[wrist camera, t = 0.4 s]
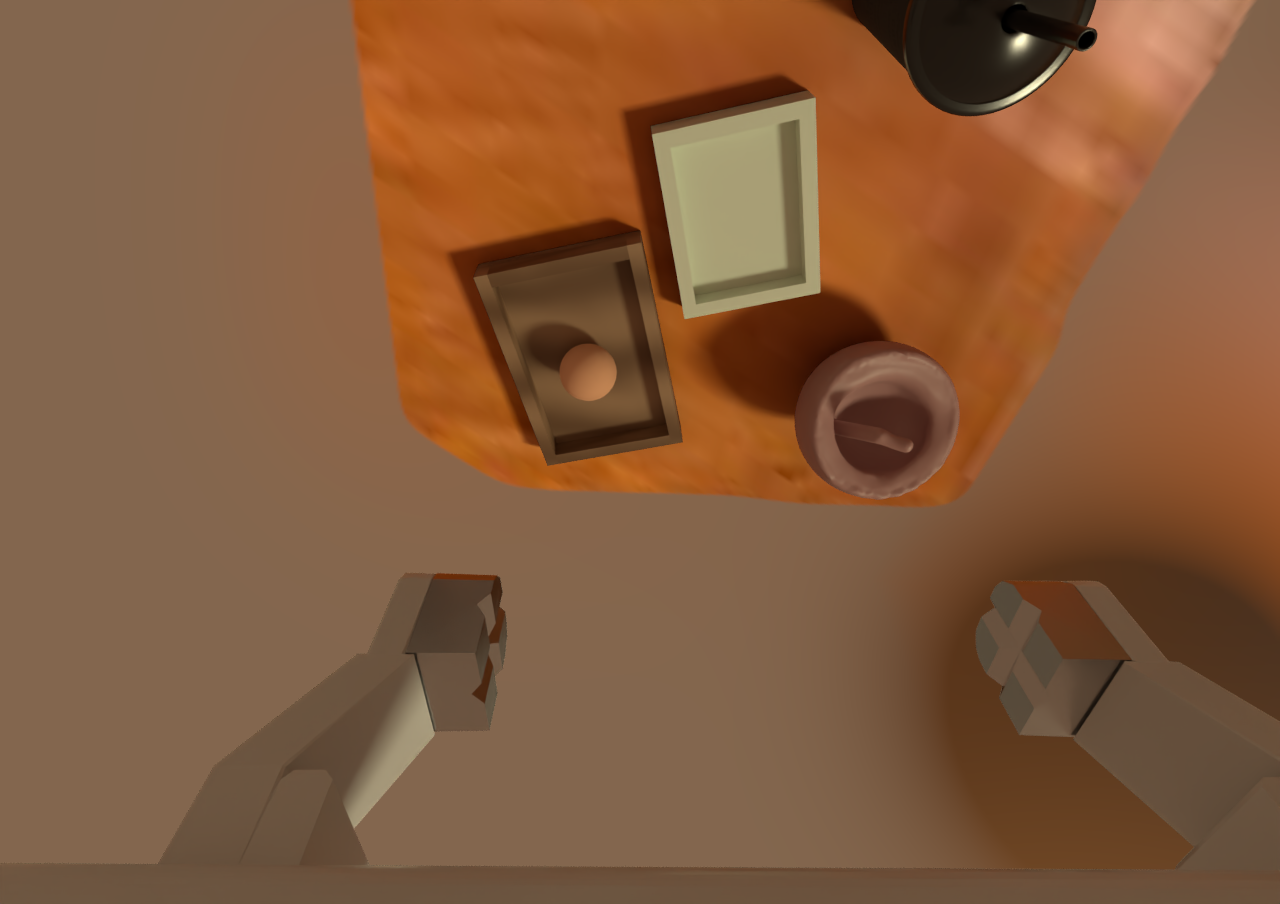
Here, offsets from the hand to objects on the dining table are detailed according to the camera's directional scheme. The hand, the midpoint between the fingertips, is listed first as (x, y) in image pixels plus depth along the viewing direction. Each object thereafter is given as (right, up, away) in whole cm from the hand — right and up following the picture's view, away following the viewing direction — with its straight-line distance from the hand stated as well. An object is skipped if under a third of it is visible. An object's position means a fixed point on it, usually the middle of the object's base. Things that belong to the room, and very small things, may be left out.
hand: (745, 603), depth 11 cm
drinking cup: (+13, +29, +27) cm, 42 cm away
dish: (-6, +11, +42) cm, 43 cm away
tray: (+5, +19, +34) cm, 40 cm away
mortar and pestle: (+16, +9, +44) cm, 48 cm away
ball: (-6, +9, +39) cm, 41 cm away
